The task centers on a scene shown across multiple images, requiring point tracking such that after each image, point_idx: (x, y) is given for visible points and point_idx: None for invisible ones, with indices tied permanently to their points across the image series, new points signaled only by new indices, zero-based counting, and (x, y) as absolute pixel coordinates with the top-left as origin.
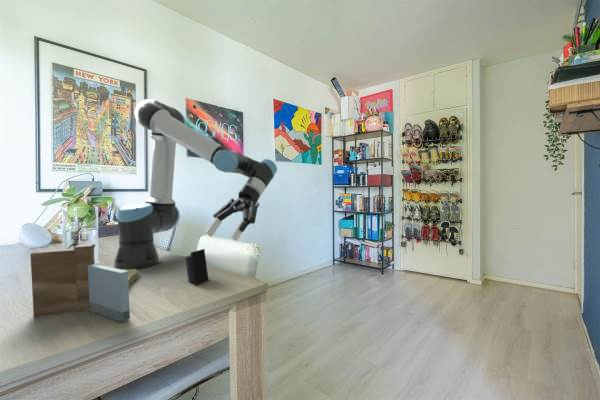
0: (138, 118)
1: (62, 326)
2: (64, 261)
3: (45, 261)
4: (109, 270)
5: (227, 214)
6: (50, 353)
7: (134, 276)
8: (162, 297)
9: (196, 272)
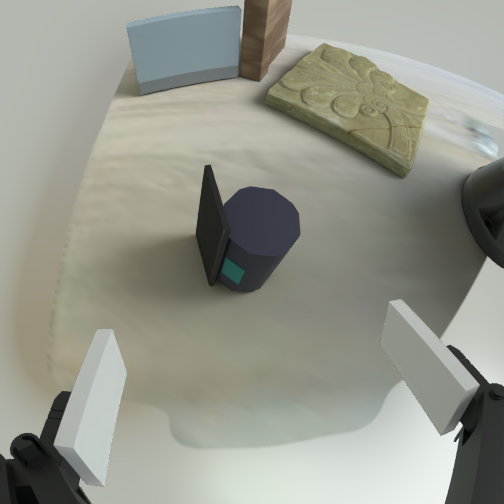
0: None
1: None
2: None
3: None
4: (163, 15)
5: (454, 497)
6: None
7: (371, 150)
8: (191, 151)
9: (202, 223)
